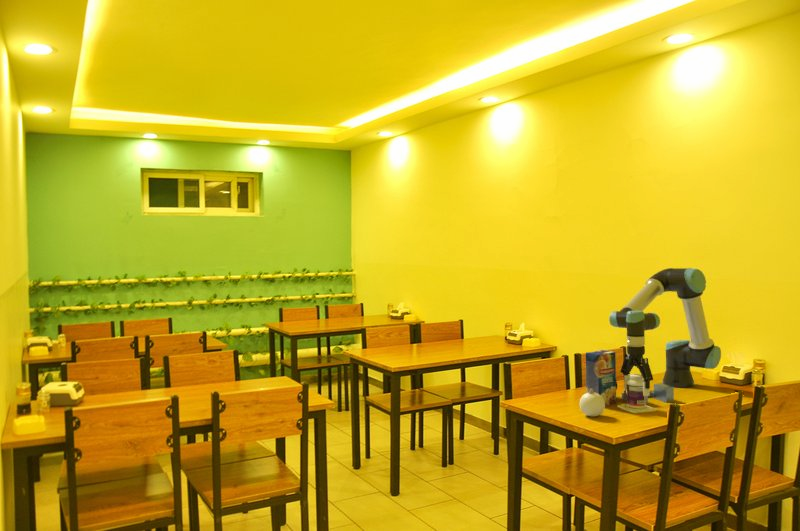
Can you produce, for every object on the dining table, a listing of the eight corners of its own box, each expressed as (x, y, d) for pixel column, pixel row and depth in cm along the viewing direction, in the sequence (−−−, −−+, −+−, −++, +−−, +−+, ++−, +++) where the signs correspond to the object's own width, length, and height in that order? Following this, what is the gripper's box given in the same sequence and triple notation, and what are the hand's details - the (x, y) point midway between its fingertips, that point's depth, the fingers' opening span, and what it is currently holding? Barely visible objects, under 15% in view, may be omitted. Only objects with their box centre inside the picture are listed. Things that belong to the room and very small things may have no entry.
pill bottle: (632, 404, 294) (631, 372, 294) (649, 406, 288) (648, 374, 288) (623, 407, 288) (623, 375, 288) (641, 410, 283) (640, 377, 282)
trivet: (639, 404, 296) (639, 403, 296) (656, 410, 284) (656, 409, 284) (617, 407, 292) (617, 405, 292) (633, 413, 281) (633, 411, 281)
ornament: (590, 420, 271) (590, 392, 271) (575, 414, 280) (574, 387, 280) (609, 417, 275) (609, 389, 275) (593, 412, 285) (593, 385, 284)
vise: (653, 395, 314) (653, 381, 314) (673, 401, 300) (673, 386, 300) (611, 399, 308) (611, 384, 308) (630, 406, 294) (629, 390, 294)
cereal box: (599, 407, 293) (598, 354, 292) (586, 404, 299) (585, 352, 299) (616, 403, 300) (615, 352, 299) (603, 400, 306) (602, 350, 305)
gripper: (612, 342, 299) (613, 387, 299) (646, 350, 275) (647, 399, 275) (626, 341, 301) (627, 386, 301) (661, 348, 277) (662, 397, 277)
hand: (636, 392), depth 288 cm, fingers open, 13 cm apart
